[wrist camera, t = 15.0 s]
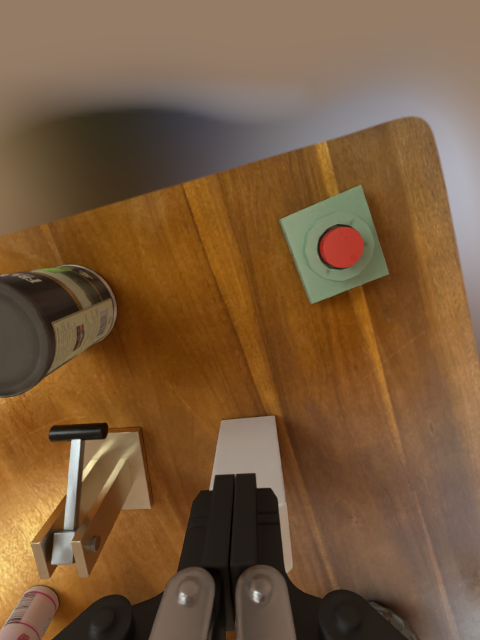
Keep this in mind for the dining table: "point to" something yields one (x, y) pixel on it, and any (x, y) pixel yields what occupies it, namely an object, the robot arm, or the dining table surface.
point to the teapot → (396, 621)
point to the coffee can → (49, 322)
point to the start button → (341, 247)
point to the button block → (307, 235)
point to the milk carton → (255, 463)
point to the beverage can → (31, 615)
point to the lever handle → (73, 483)
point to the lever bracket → (99, 498)
